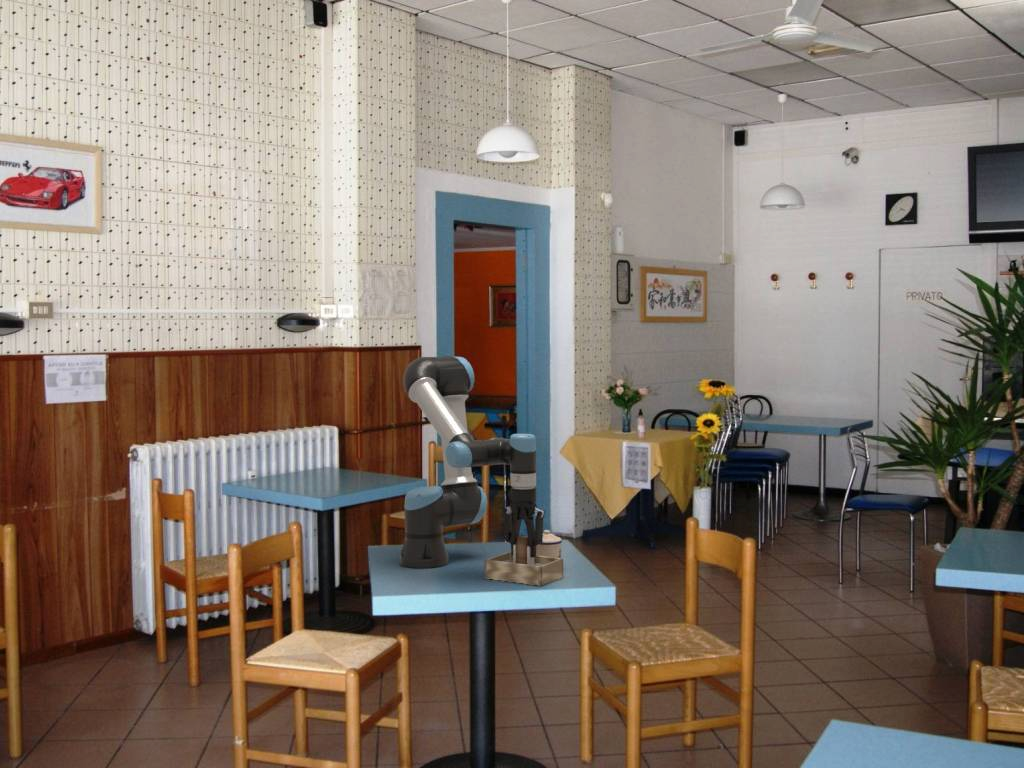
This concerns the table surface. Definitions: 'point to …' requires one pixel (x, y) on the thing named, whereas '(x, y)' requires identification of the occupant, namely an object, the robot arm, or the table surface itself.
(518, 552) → the peg
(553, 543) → the teacup with lid
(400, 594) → the table surface
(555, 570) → the box with hole
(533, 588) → the table surface
